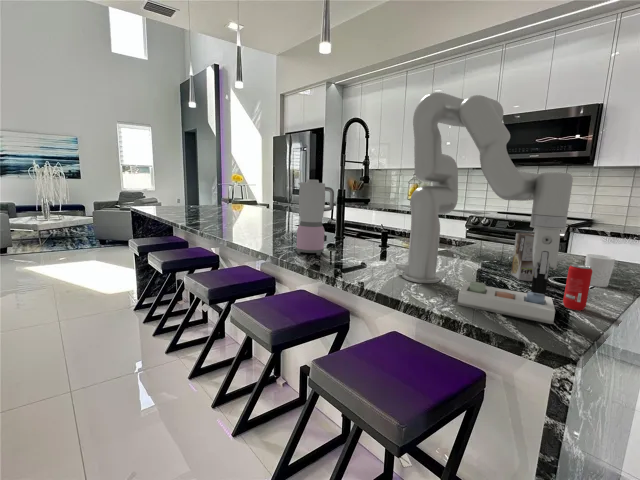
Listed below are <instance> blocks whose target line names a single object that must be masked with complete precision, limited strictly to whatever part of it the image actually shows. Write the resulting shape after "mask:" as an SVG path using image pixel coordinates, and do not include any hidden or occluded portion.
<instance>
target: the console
mask: <svg viewBox="0 0 640 480" xmlns="http://www.w3.org/2000/svg"><path fill="white" fill-rule="evenodd" d="M469 288H470V282H464V283H463V285H462V286H461V288H460V289H459V291H458V295H457V296H458V297H457V304H456V305H457V306H463V307H466V308H472V309H476V310H481V311H486V312H491V313H495V314H501V315H506V316H510V317H515V318H520V319H524V320H530V321H534V322H535V321H536V322H540V323H545V324H548V325H549V324H550V325H553V324H554V323H555V322H554V321H555V320H554V319H555V314H556V307H555V306H554V302H553V299H552V297H550V296H546V295H545V300H544V305H542V304H536V303H531V302H526V297H527V292H522V291H516V290H509V289H504V288H498V287H493V286H487V285H486V287H485V294H481V293H476V292H471V291H469ZM497 292H507V293H510V294H513V299H509V298H503V297H498V296H497Z"/></svg>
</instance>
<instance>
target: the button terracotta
mask: <svg viewBox="0 0 640 480" xmlns="http://www.w3.org/2000/svg"><path fill="white" fill-rule="evenodd" d="M497 296H498V297H503V298H509V299H513V294H510V293H507V292H497Z"/></svg>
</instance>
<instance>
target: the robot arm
mask: <svg viewBox="0 0 640 480" xmlns="http://www.w3.org/2000/svg"><path fill="white" fill-rule="evenodd" d="M503 118H504V108H503V106H502V104H501V103H500V102H499V101H497V100H496V99H493V98H489V97H487V96H484V95H481V94H479V95H478V94H475V95H471V96H469V97H466V99H465V98H460V97H457V96H455V95H451V94H449V93H445V92H431V93H429V94H426V95H424V96H423V97H422V98H421V99H420V101H419V102H418V104H417V106H416V107H415V109H414V112H413V117H412V126H413V139H414V140H413V141H414V147H413V148H414V153H413V157H414V160H413V161H414V164H413V165H414V175H415V177H416V178H417V180H419V181H421V182H426V183H432V185H424V186H419V187H417V188H416V189H415V190H414V191H413V192H412V194H411V196H410V199H409V200H410V201H409V206H410V214H411V215H410V216H411V217H410V231H409V233H410V235H409V243H408V244H409V245H408V254H407V255H408V256H407V262H406V263H400V262H396V263H395V268H396V270H399V271H403V272H402V273H401V277H402V278H403V280H407V281H410V282H414V283H419V284H436V283H439V282H440V280H441V277H440V276H439V274H436V273H437V263H438V257H439V256H438V254H439V247H440V246H439V245H440V235H441V223H440V219H439V215H446V214H450V213H452V212H453V211H454V210H455V208H456V206H457V204H458V198H459V169H458V165H457V162H456V160H455V159H454V158H453V156H451V155H448V154H445V153H444V154H443V152H442V151H443V149H442V142H443V141H442V135H441V132H440V129H439V126H438V124H439V123H440V124H443V125H449V126H453V127H459V128H460V127H461V128H465V129H466V130H467V133H468V134H469V136H470V138H471V139H472V142H473V143H474V144H475V146H476V148H477V150H478V152H479V165H480V169H481V171H482V174H483V176H484V177H485V180H486V182H487V183H488V185H489V187H490V188H491V189H492V191H493V192H494V194H495V195H496V196H497V197H498V198H500V199H502V200H505V201H520V202H521V201H522V202H523V201H533V202H532V207H531V215H530V217H531V218H530V225H529V227H530V228H533V229H534V233H533V234H534V242H533V257H532V258H533V266H534V267H535V270H534V276H533V279H532V281H531V286H530V292H533V293H539V294H544V295H546V294H547V287H548V275H549V269H550V268H551V269H552V270H557V267H558V266H557V265H558V256H559V249H560V242H561V240H560V239H561V231H565V230H566V227H567V223H568V222H567V221H568V214H569V213H568V212H569V208H570V201H571V194H572V188H573V182H574V181H573V180H574V178H573V175H572V173H571V174H570V173H569V172H555V171H554V172H553V171H551V172H548V171H547V172H541V173H534V172H529V171H528V172H527V171H520V170H518V168H517V167H516V166H515V163H513V161H512V159H511V157H510V156H509V153H508V150H507V144H508V143H509V142H510V139H511V134H510V133H511V132H510V131H509V130H508V128H507V127H506V125H505V124H504V122H503Z"/></svg>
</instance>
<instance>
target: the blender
mask: <svg viewBox="0 0 640 480" xmlns="http://www.w3.org/2000/svg"><path fill="white" fill-rule="evenodd" d="M297 184H298V185H299V189H298V191H299V192H298V212H299V224H298V227H297V229H296V247H295V250H296V254H298V255H301V254H302V253H306V254H316V256H321V254H322V253H323V252H324V250H325V247H324V246H325V242H327V241H328V240H327V239H328V237H327V236H328V235H326V234H325V228H324V226H323V218H324V212H331V211H332V210H333V209H334V202H335V190H334V189H333V188H332V187H328V186H326V184H325V183H324V182H320V181H319V179H308V178H307V179H306V181H305V182H297ZM326 192H329V206H325V205H326Z"/></svg>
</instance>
